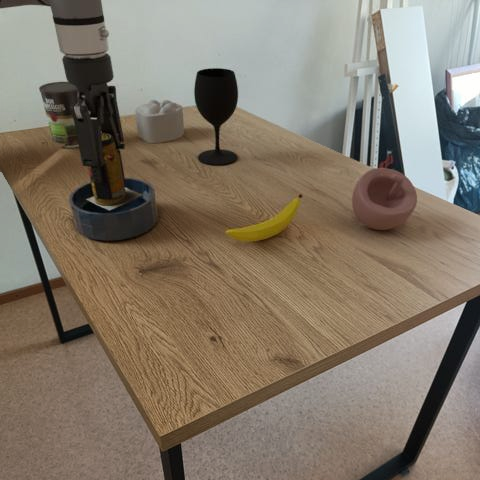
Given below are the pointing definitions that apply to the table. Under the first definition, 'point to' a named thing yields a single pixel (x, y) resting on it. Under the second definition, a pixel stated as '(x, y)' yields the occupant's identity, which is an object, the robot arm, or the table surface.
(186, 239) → the table surface
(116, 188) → the condiment
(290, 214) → the banana
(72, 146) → the coffee can
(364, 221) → the mortar and pestle
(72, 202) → the bowl
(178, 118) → the lumpy-topped squat cylinder
